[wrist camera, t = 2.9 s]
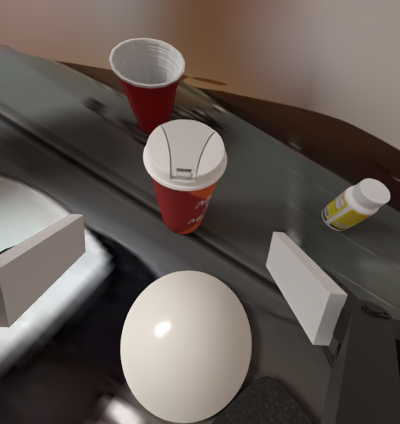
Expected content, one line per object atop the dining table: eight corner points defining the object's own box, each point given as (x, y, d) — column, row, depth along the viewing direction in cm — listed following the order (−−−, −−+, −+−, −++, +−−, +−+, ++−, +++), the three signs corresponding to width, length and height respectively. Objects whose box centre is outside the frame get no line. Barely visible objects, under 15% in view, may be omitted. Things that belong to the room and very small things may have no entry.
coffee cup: (208, 243, 32) (230, 186, 18) (151, 239, 31) (133, 176, 18) (209, 195, 36) (229, 118, 22) (159, 190, 35) (148, 109, 22)
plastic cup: (141, 154, 38) (127, 88, 28) (117, 115, 42) (96, 45, 31) (193, 134, 42) (199, 69, 31) (167, 100, 45) (163, 32, 35)
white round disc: (108, 416, 22) (105, 420, 21) (136, 268, 29) (134, 266, 28) (252, 420, 23) (256, 425, 22) (245, 276, 30) (248, 274, 29)
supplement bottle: (354, 224, 36) (401, 198, 28) (334, 236, 34) (378, 212, 27) (334, 201, 37) (373, 171, 30) (314, 212, 36) (350, 182, 29)
